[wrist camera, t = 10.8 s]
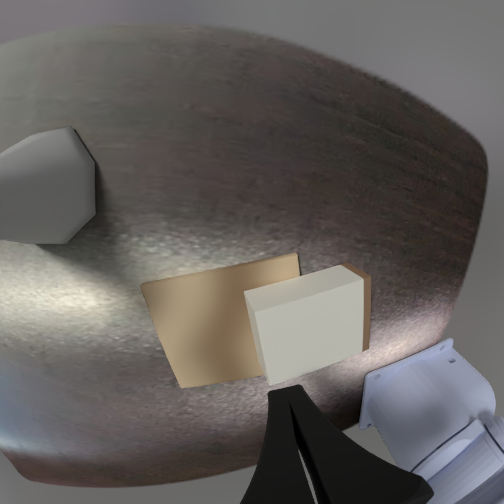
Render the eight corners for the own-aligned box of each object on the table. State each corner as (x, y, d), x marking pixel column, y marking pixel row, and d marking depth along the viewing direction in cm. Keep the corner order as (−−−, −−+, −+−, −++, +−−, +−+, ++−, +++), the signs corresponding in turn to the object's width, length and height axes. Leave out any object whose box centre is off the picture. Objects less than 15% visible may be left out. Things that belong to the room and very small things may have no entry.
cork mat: (295, 252, 16) (297, 254, 16) (307, 360, 18) (309, 364, 18) (142, 283, 15) (140, 286, 15) (181, 384, 18) (180, 388, 18)
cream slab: (243, 291, 15) (347, 262, 16) (258, 360, 17) (349, 330, 18) (254, 312, 13) (370, 276, 14) (269, 386, 15) (368, 348, 16)
